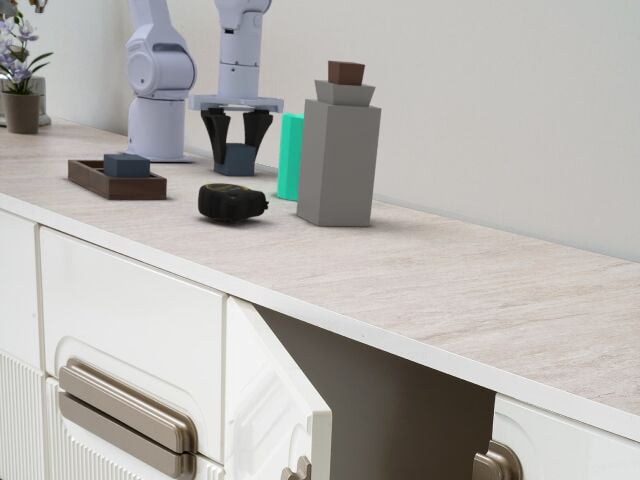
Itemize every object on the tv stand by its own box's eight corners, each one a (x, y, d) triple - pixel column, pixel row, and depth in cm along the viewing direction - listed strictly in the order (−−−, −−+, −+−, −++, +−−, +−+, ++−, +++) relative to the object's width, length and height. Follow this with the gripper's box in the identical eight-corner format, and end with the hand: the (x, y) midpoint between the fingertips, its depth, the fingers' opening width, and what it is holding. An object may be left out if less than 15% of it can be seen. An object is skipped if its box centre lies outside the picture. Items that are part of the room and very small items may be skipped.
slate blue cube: (213, 170, 165) (214, 142, 163) (240, 170, 167) (241, 142, 165) (227, 175, 161) (228, 147, 160) (254, 175, 164) (255, 147, 162)
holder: (67, 179, 147) (67, 159, 146) (122, 179, 151) (122, 160, 150) (108, 199, 136) (109, 178, 135) (166, 199, 140) (167, 178, 139)
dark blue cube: (103, 186, 141) (103, 153, 140) (135, 186, 143) (136, 154, 142) (116, 193, 138) (116, 159, 136) (149, 192, 140) (150, 159, 138)
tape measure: (232, 228, 126) (234, 195, 125) (184, 218, 129) (186, 185, 128) (267, 222, 131) (270, 189, 130) (221, 212, 135) (223, 180, 133)
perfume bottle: (296, 214, 138) (308, 58, 130) (346, 215, 140) (360, 62, 133) (317, 225, 132) (331, 63, 125) (369, 226, 135) (385, 67, 128)
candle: (323, 196, 152) (331, 103, 147) (318, 203, 147) (327, 107, 142) (279, 191, 153) (286, 98, 148) (273, 198, 147) (280, 102, 142)
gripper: (205, 64, 152) (200, 167, 157) (298, 69, 159) (290, 167, 164) (183, 59, 157) (179, 159, 162) (273, 64, 164) (267, 160, 170)
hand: (234, 163), depth 164 cm, fingers closed on slate blue cube, 4 cm apart
